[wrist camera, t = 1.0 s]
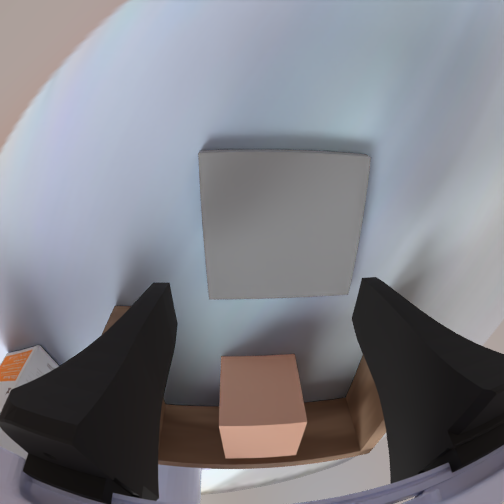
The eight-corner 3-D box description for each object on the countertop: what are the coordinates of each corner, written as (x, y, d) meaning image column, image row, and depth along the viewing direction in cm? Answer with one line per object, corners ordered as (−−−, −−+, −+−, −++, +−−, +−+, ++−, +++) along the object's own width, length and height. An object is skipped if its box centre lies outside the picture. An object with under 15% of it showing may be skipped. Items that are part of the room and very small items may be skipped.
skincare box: (39, 341, 17) (-22, 476, 6) (74, 378, 19) (32, 508, 8) (5, 351, 18) (-47, 459, 7) (36, 383, 20) (-4, 489, 9)
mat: (344, 287, 15) (348, 294, 15) (210, 292, 15) (209, 299, 14) (365, 154, 12) (370, 157, 11) (200, 150, 12) (198, 153, 11)
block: (287, 396, 20) (295, 454, 16) (226, 398, 20) (225, 458, 16) (294, 353, 18) (307, 421, 13) (221, 355, 18) (218, 426, 13)
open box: (354, 402, 21) (368, 453, 17) (156, 409, 21) (147, 463, 16) (396, 298, 16) (433, 360, 12) (115, 305, 15) (84, 374, 11)
